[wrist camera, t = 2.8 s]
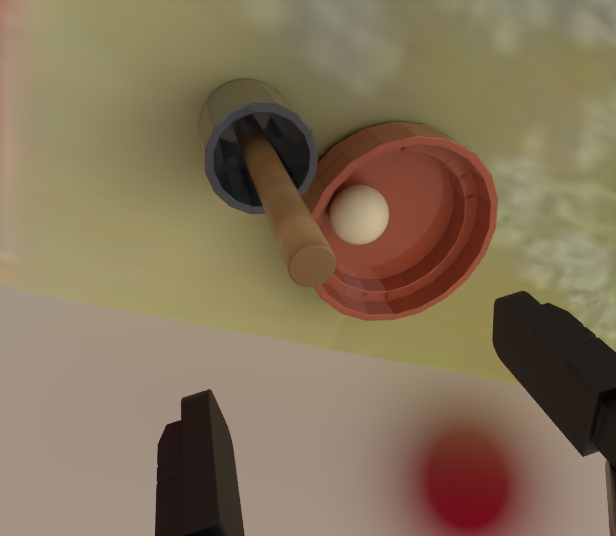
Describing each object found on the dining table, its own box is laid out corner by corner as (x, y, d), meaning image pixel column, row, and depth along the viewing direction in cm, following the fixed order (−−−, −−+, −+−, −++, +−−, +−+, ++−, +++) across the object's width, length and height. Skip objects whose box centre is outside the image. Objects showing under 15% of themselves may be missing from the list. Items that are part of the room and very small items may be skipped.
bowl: (351, 84, 32) (372, 98, 29) (503, 165, 39) (535, 184, 35) (261, 264, 38) (269, 293, 35) (406, 309, 45) (426, 337, 41)
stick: (240, 112, 31) (302, 238, 16) (265, 123, 32) (345, 253, 17) (230, 137, 32) (280, 280, 17) (254, 147, 33) (322, 293, 18)
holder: (220, 61, 30) (231, 82, 24) (308, 104, 32) (337, 132, 27) (185, 152, 32) (187, 192, 26) (269, 185, 35) (288, 227, 29)
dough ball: (339, 167, 35) (358, 189, 31) (386, 188, 37) (409, 211, 33) (312, 217, 37) (328, 244, 33) (359, 235, 38) (378, 262, 35)
